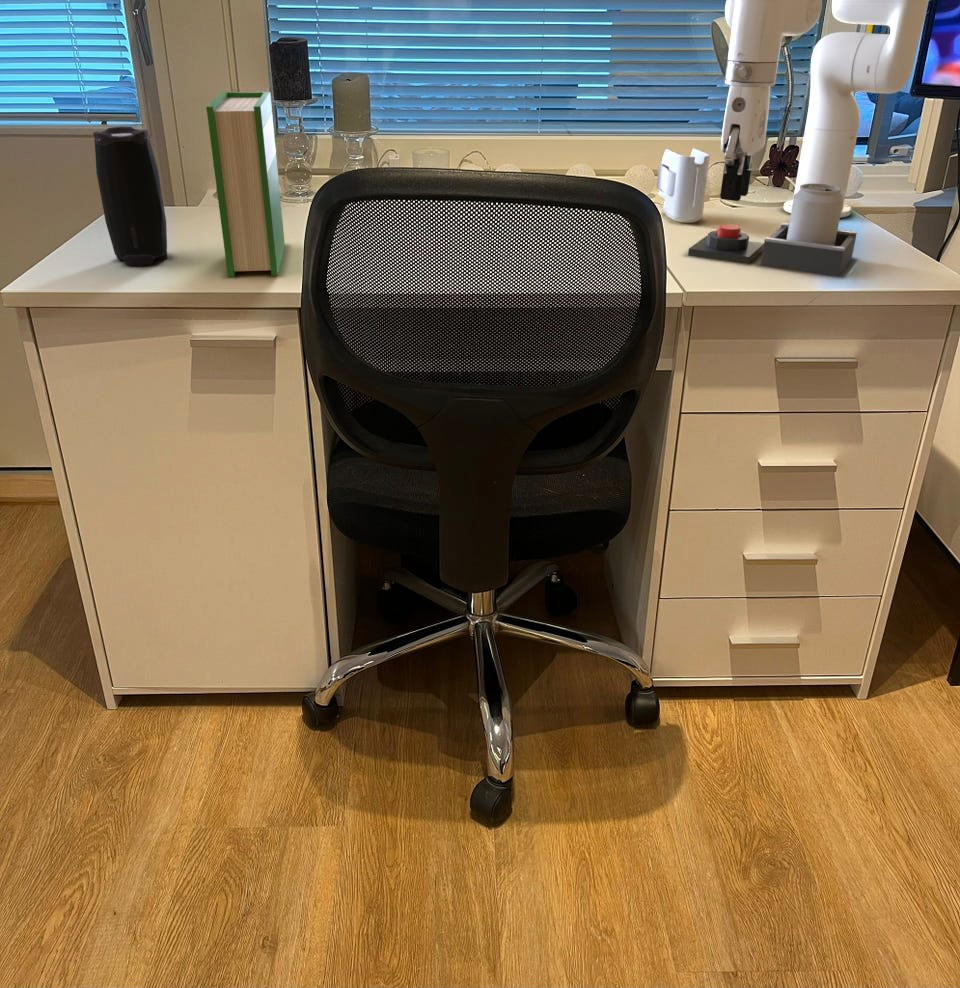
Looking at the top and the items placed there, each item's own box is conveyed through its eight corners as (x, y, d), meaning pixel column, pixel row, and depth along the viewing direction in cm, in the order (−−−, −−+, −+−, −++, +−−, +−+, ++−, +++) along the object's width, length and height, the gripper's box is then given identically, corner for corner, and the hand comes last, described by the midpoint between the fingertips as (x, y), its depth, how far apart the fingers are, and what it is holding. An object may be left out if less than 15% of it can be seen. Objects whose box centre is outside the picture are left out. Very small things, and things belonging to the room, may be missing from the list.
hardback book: (277, 275, 142) (260, 106, 130) (228, 276, 141) (206, 107, 130) (284, 245, 157) (270, 91, 146) (240, 246, 157) (221, 92, 145)
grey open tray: (778, 249, 158) (782, 222, 156) (851, 258, 153) (857, 231, 151) (760, 266, 149) (764, 238, 147) (838, 277, 144) (843, 248, 142)
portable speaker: (129, 251, 154) (107, 124, 144) (182, 254, 152) (163, 127, 142) (101, 265, 146) (76, 133, 137) (156, 269, 145) (134, 135, 135)
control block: (705, 242, 162) (707, 225, 160) (763, 250, 158) (766, 232, 156) (687, 255, 154) (689, 237, 153) (748, 264, 150) (750, 245, 149)
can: (833, 270, 147) (849, 192, 142) (784, 267, 149) (797, 189, 143) (828, 257, 154) (842, 182, 148) (781, 254, 155) (793, 180, 149)
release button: (720, 233, 157) (721, 223, 156) (741, 236, 155) (743, 225, 154) (714, 238, 154) (715, 227, 153) (735, 241, 152) (737, 230, 152)
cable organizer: (682, 210, 183) (690, 145, 177) (708, 225, 173) (717, 157, 167) (650, 211, 182) (657, 146, 176) (675, 226, 171) (682, 158, 166)
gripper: (762, 80, 134) (743, 210, 144) (788, 71, 147) (769, 190, 156) (711, 77, 138) (695, 204, 147) (740, 68, 150) (725, 186, 159)
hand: (733, 196), depth 151 cm, fingers open, 3 cm apart
